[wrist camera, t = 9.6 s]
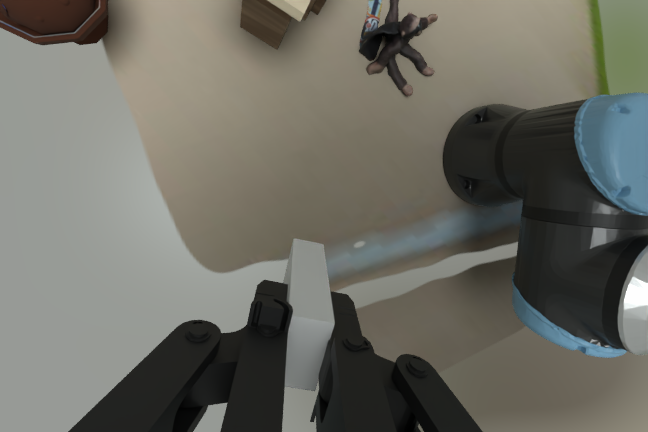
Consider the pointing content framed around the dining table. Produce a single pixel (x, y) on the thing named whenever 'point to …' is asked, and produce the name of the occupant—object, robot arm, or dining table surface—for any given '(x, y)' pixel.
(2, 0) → the ice cream bowl
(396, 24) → the stuffed animal
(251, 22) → the stand
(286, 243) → the dining table surface
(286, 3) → the lever
